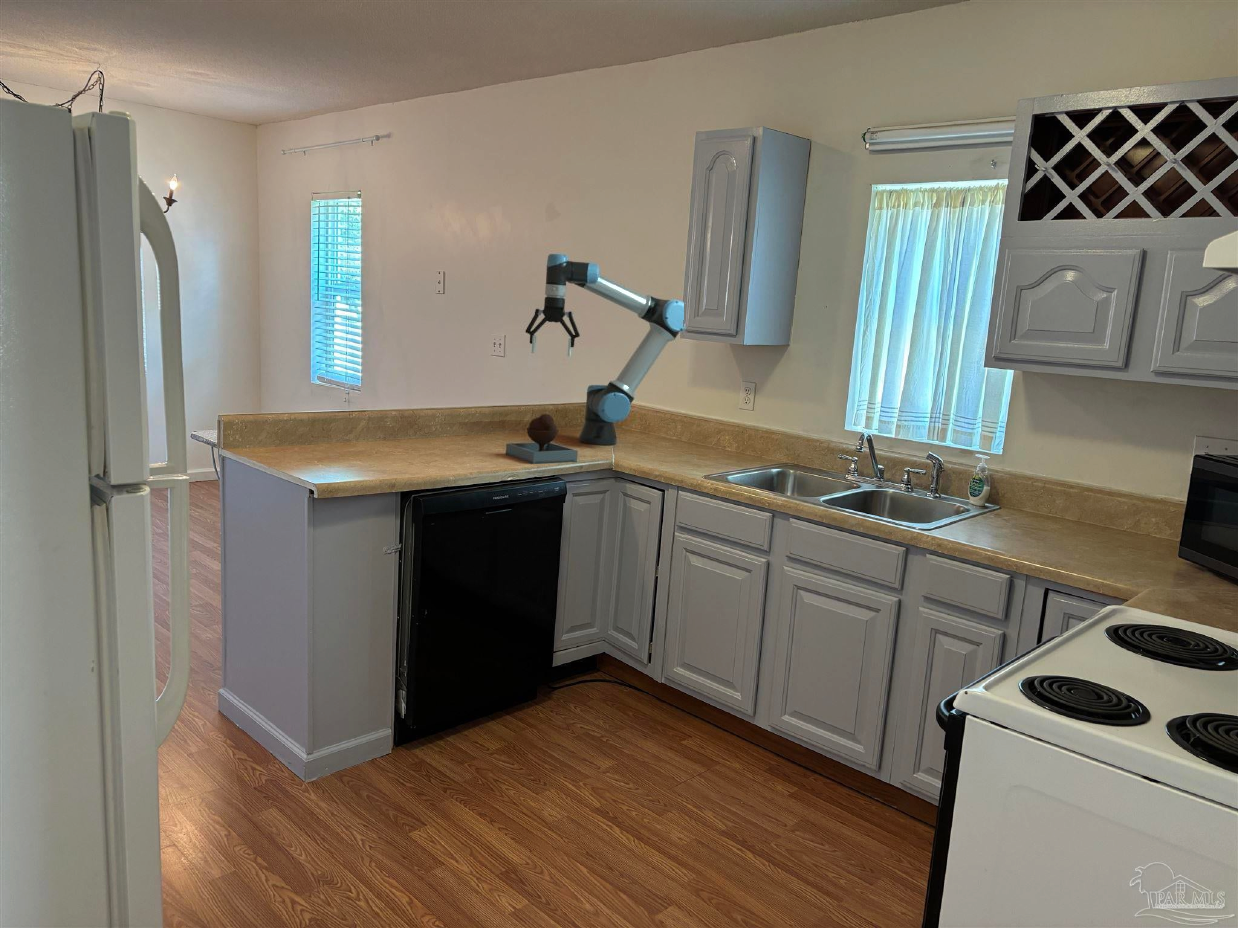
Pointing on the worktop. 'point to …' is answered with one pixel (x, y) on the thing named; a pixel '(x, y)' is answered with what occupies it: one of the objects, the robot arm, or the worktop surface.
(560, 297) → the robot arm
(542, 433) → the ice cream bowl
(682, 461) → the worktop surface
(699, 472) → the worktop surface
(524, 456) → the charcoal bin
